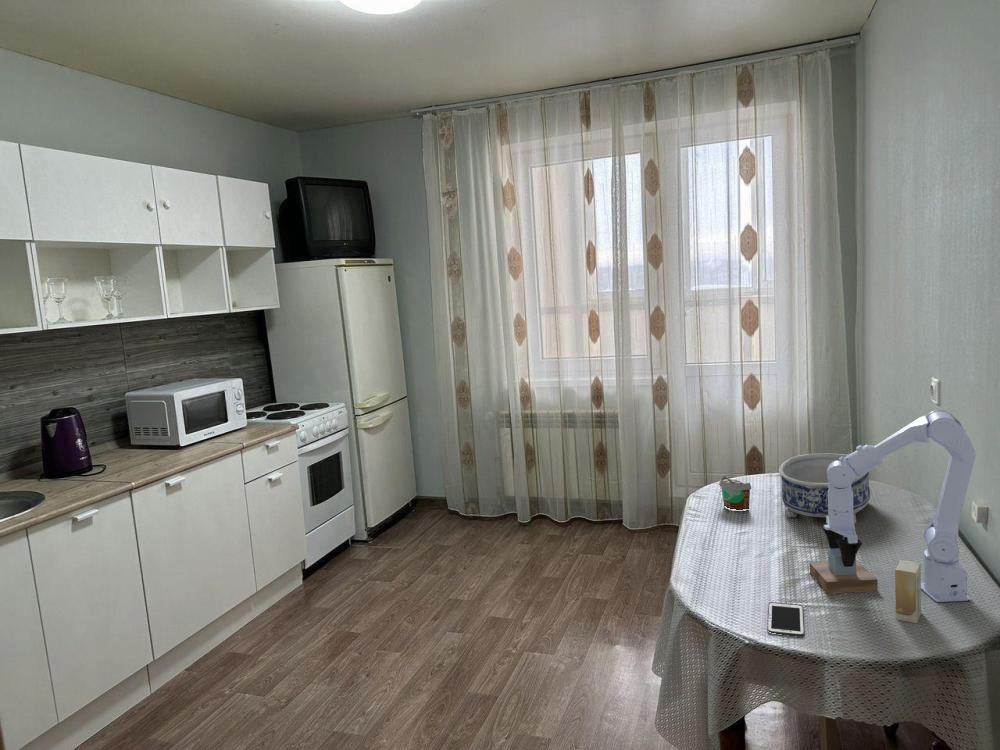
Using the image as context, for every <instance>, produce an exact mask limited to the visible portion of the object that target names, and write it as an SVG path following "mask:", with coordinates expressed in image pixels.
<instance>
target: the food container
mask: <svg viewBox="0 0 1000 750" xmlns="http://www.w3.org/2000/svg"><path fill="white" fill-rule="evenodd" d="M718 485H719V487H720V488H721V493H722V501H723V507H724V506H726V507H727V508H730V509H736V510H743V509H749V510H750V497H751V490H752V485H751V482H746V483H744V482H741V481H739V480H736V479H730V478H727V475H723V476H722V477H720V479H719V484H718Z"/></svg>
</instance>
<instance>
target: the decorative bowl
mask: <svg viewBox="0 0 1000 750" xmlns="http://www.w3.org/2000/svg"><path fill="white" fill-rule="evenodd" d="M848 455H849V453H848V454H847V453H846V454H845V453H835V452H834V453H833V452H832V453H829V452H828V453H827V452H826V453H823V452H821V453H806V454H801V455H795V456H792V457H790V458H788V459H787V460H785V461H783V463H782V464H780V466H779V468H778V473H779V475H780V477H781V499H782V502H783V505H784V507H785V508H787V509H786V512H785V515H786V517H787V516H788V517H787V518H789V517H793V519H795V518H796V517H798V514H799V515H803V516H807V517H814V518H826V516H828V490H829V488H828V483H829V481H828V479H827V469H828V467H829V465H830V464H831V463H832V462H834V461H839V458H840V457H843V458H844V457H846V456H848ZM851 490H852V491H853V520H854V526H855V525H856V524H857V521H858V520H857V517H856V514H857V513H858V512H860V511H861V510H863V509H864V508H865V507H866V506H867V505H868V504H869V502H870V499H871V488H870V471H869V472H867V473H865V474H864V475H862V476H860V477H858V478H854V479H853V482H852V484H851ZM794 517H795V518H794Z"/></svg>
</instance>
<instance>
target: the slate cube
mask: <svg viewBox="0 0 1000 750" xmlns="http://www.w3.org/2000/svg"><path fill="white" fill-rule="evenodd" d="M827 556H828V557H827V558H828V559H827V560H828V567H829V568H830V569H831V571H832V572H833V573H834V574H835V575H855V574H856V560H857V556H856V557H855V561H854V564H853V566H851V567H844V565H843V562H842V557H841V551H840V548H835V549H830V548H828V549H827Z"/></svg>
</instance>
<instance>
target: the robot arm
mask: <svg viewBox="0 0 1000 750" xmlns="http://www.w3.org/2000/svg"><path fill="white" fill-rule="evenodd" d="M930 438H931V440H932V441H934V442H935V443H936V444H938V445H940V446H942V447H943V448H944V449H945V450H946V451H947V452H948V453H949V457H948V462H947V467H946V470H945V474H944V478H943V482H942V485H941V486H942V487H941V488H940V493H939V498H938V503H937V506H936V510H935V514H934V515H933V517H932V518H931V522H930V524H929V525H928V526H927V527H926V529H925V530H924V534H923V537H924V540H925V542H926V545H927V546H926V549H925V550H924V551H923V582H921V591H923V592H924V593H925V594H927V595H928V596H929V597H930V598H931V599H932V600H934V601H935V602H936V603H943V602H946V603H947V602H964V601H966V602H968V600H969V601H972V597H970V596H969V595H968V575H967V572H966V570H964V568H962V566H961V563H960V556H959V553H960V547H959V543H958V539H959V522H960V518H961V514H962V511H963V507H964V503H965V499H966V495H967V491H968V488H969V483H970V479H971V475H972V471H973V467H974V463H975V460H976V455H977V451H976V449H975V446H974V445H973V443H972V441H971V439H970V437H969V435H968V433H967V432H966V429H965V428H964V427H963V425H962V423H961V422H960V420H958V419H957V417H955V416H954V415H953V414H952V413H950V412H949V411H947V410H944V409H935V410H932V411H931V412H929V413H928V414H927V415H923V416H920V417H918V418H917V419H915V420H914V421H911V422H910V423H908V424H907V425H906V426H904V427H902V428H901V429H899V430H898V431H896V432H894V433H893V434H891V435H890V436H888V437H886V438H885V439H884V440H882V441H881V442H879V443H877V444H876V445H874V444H872V445H871V444H865V445H863V446H862V445H861V444H860V445H857V446H856V447H855V448H856V449H855V451H853V452H852V453H848V456H846V457H844V458H843V457H840V458H839V461H834V462H832V463H831V464H830V465H829V467H828V469H827V479H828V481H829V483H828V488H829V490H828V516H826V517H825V520H826V521H825V523H826V524H823V526H822V527H821V529H822V531H823V533H824V536H826V540H827V543H828V545H829V546H828V547H829V549H835V548H840V551H841V557H842V562H843V565H844V567H851V566H853V564H854V561H855V557H856V558H857V554H858V551H859V550H860V548H861V546H862V545H863V541H862V540H861V539H859V538H858V535H857V533H856V526H855V525H854V520H853V491H852V490H851V484H852V482H853V479H854V478H858V477H860V476H862V475H864V474H865V473H867V472H869V473H870V471H872V470H875V469H876V468H877V467H880V466H882V464H883V458H884V457H886V456H888V455H891V454H892V453H894V452H897V451H899V450H900V449H903V448H905V447H906V446H908V445H910V444H912V443H914V442H917V443H919V442H920V443H926V444H928V443H930Z"/></svg>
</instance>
